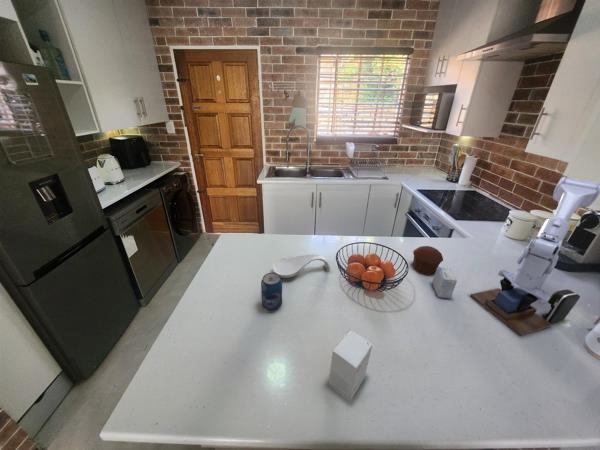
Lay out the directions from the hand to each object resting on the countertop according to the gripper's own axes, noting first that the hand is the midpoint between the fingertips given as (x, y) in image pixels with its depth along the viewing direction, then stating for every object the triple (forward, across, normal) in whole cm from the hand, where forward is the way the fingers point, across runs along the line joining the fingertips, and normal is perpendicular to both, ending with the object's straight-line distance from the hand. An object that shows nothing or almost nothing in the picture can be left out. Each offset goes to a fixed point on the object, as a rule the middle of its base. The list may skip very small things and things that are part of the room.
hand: (511, 303), depth 85 cm
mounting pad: (+3, 0, 0) cm, 3 cm away
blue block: (+2, 0, 0) cm, 2 cm away
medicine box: (+3, -14, -16) cm, 22 cm away
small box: (+3, +8, -66) cm, 67 cm away
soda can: (+3, -22, -80) cm, 83 cm away
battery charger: (+3, +6, +12) cm, 13 cm away
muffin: (+3, -28, -12) cm, 31 cm away
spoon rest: (+3, -38, -65) cm, 75 cm away
